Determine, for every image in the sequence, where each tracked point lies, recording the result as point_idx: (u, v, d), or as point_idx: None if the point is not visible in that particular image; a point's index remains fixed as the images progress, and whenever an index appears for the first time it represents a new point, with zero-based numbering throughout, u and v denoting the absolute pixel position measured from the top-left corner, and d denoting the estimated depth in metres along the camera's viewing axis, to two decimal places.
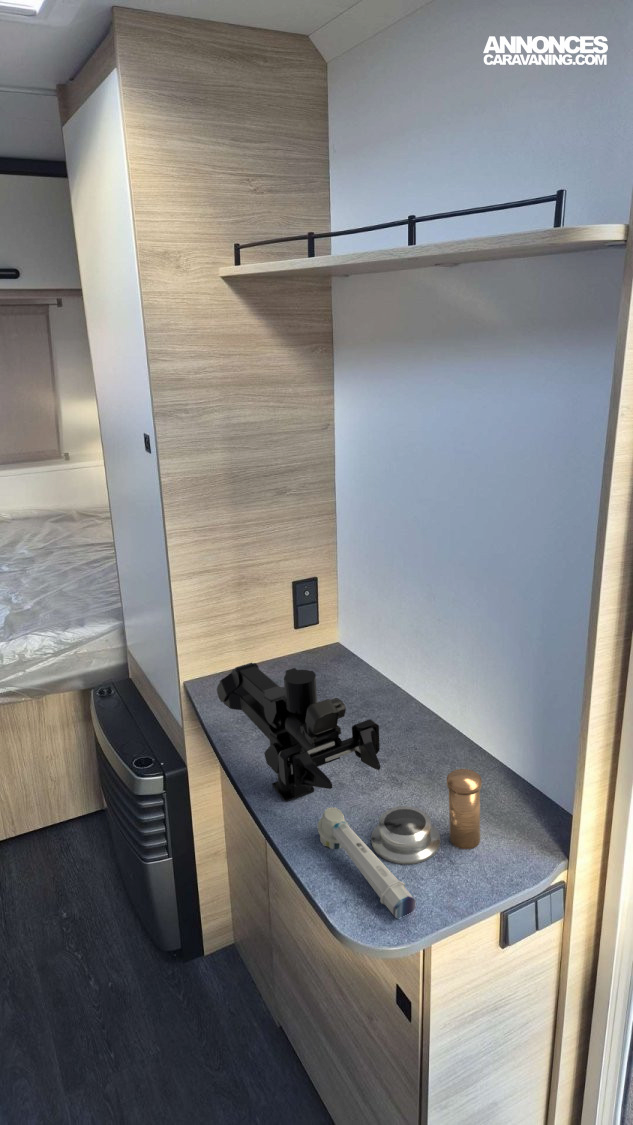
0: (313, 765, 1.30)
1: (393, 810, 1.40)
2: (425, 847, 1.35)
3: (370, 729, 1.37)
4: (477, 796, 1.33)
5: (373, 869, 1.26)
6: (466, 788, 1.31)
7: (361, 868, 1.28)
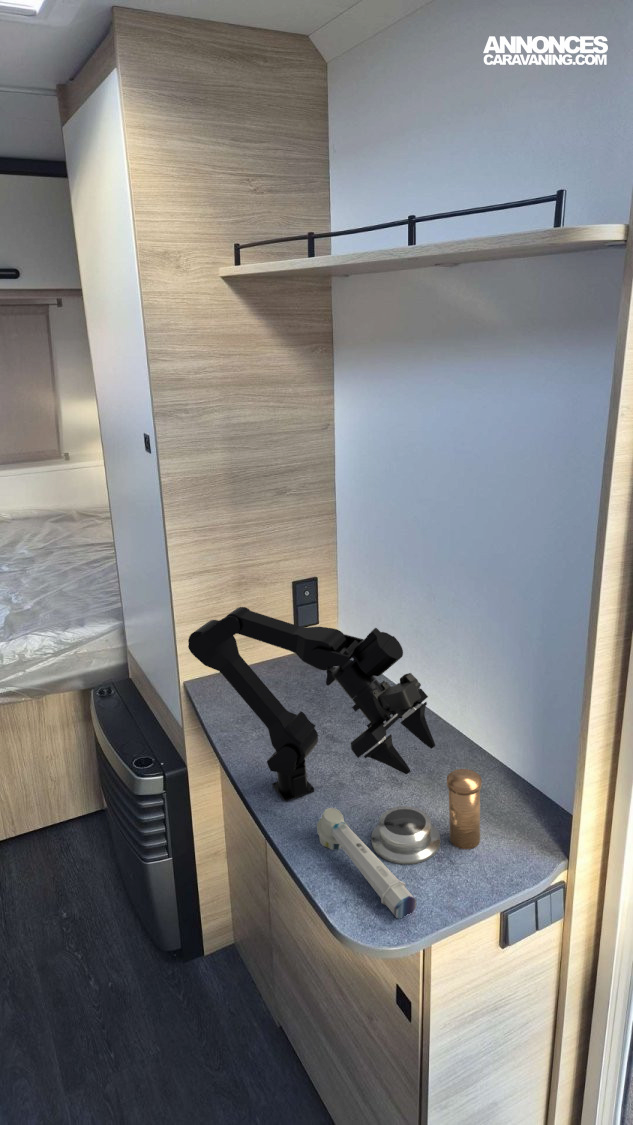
0: (393, 748, 1.34)
1: (393, 810, 1.40)
2: (425, 847, 1.35)
3: (425, 704, 1.43)
4: (477, 796, 1.33)
5: (374, 870, 1.26)
6: (466, 788, 1.31)
7: (361, 868, 1.28)
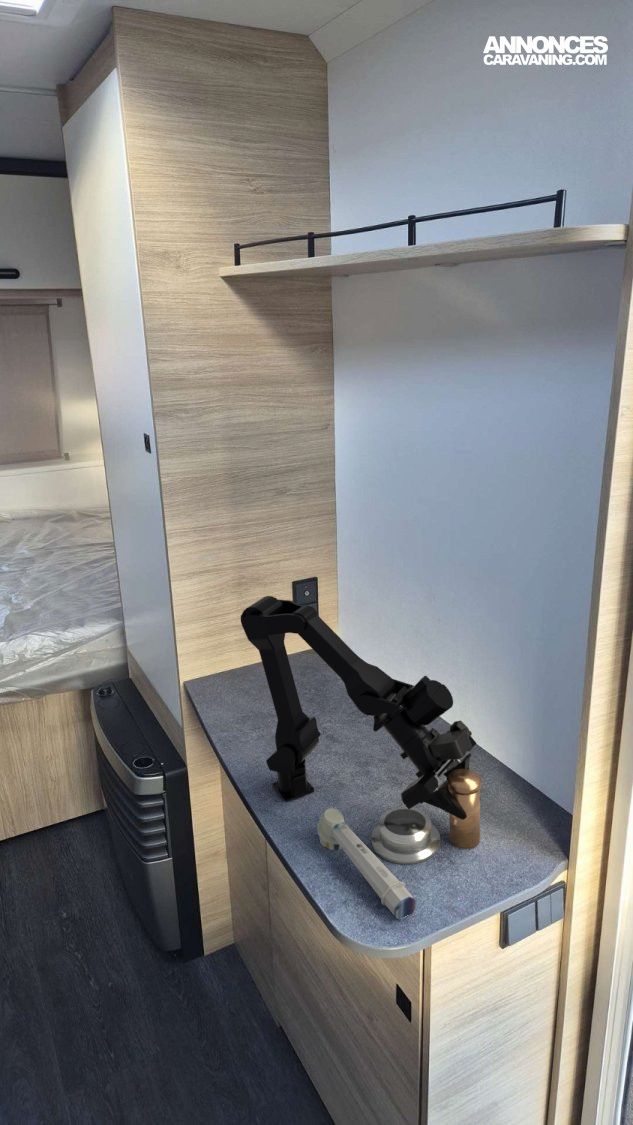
0: (450, 794, 1.32)
1: (393, 810, 1.40)
2: (425, 847, 1.35)
3: (470, 756, 1.38)
4: (477, 796, 1.33)
5: (374, 870, 1.26)
6: (466, 788, 1.31)
7: (361, 868, 1.28)
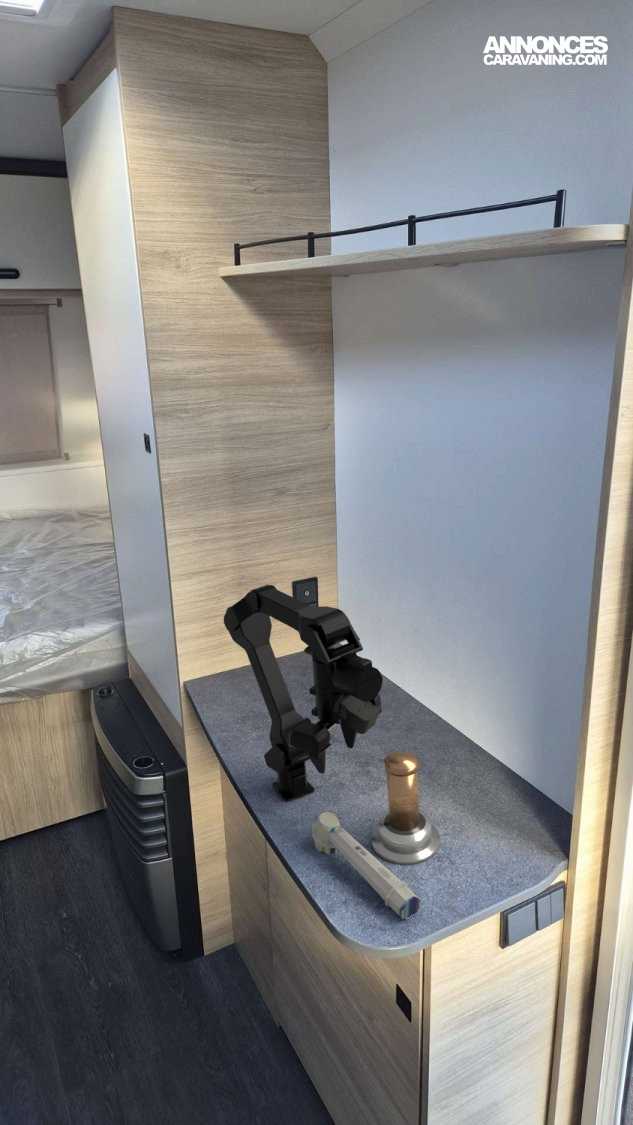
0: (324, 752, 1.34)
1: None
2: (425, 847, 1.35)
3: None
4: (414, 778, 1.32)
5: (376, 872, 1.25)
6: (402, 769, 1.31)
7: (362, 871, 1.27)
